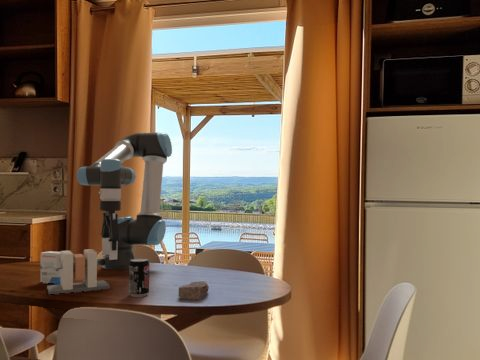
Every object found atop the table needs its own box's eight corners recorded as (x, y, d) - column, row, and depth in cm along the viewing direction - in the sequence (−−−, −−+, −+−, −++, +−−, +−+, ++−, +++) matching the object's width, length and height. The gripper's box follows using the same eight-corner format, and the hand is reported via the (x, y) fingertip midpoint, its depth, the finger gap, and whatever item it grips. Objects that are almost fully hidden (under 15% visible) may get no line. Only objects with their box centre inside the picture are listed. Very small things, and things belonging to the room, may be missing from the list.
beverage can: (148, 292, 148) (149, 257, 148) (149, 297, 141) (149, 261, 142) (129, 293, 146) (129, 258, 147) (128, 298, 140) (128, 261, 140)
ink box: (66, 282, 164) (67, 251, 164) (57, 284, 159) (57, 253, 160) (49, 280, 167) (49, 250, 167) (39, 283, 162) (39, 252, 163)
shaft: (113, 265, 161) (114, 255, 161) (116, 267, 157) (116, 256, 157) (60, 270, 152) (60, 258, 152) (61, 271, 148) (61, 260, 148)
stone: (185, 291, 149) (185, 278, 150) (210, 292, 148) (210, 279, 148) (176, 300, 138) (176, 286, 138) (203, 301, 137) (203, 287, 137)
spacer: (81, 275, 157) (81, 253, 157) (84, 279, 150) (84, 256, 150) (72, 276, 155) (72, 254, 156) (75, 280, 148) (75, 257, 149)
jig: (104, 283, 162) (104, 248, 162) (109, 288, 153) (109, 251, 153) (46, 289, 152) (47, 251, 152) (49, 295, 143) (49, 255, 144)
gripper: (94, 199, 168) (93, 253, 167) (106, 200, 146) (105, 262, 145) (113, 200, 171) (112, 252, 170) (128, 200, 149) (127, 260, 148)
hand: (109, 257), depth 158 cm, fingers open, 13 cm apart
